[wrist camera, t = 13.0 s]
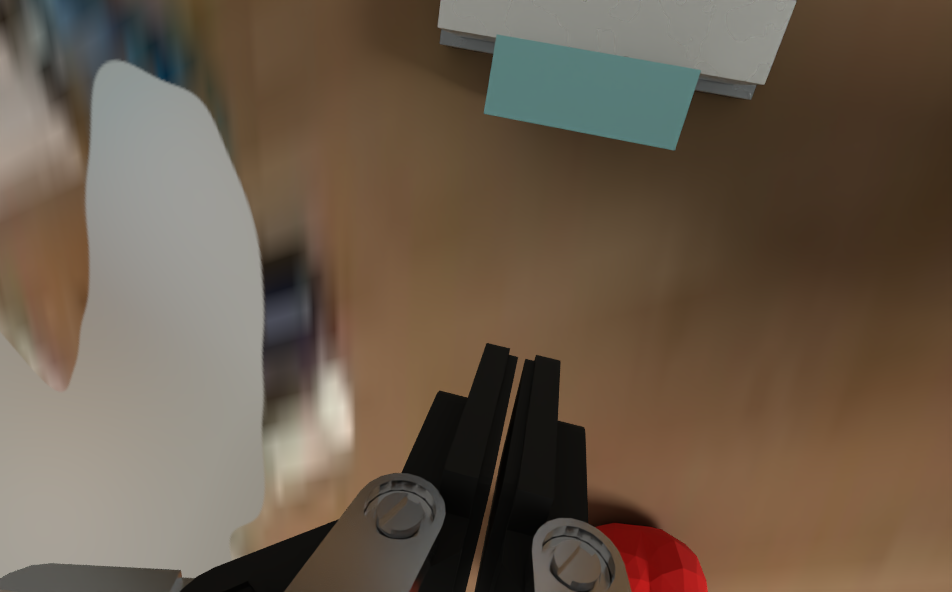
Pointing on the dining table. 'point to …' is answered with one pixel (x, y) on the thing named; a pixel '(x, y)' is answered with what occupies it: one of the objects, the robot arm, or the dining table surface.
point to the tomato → (655, 559)
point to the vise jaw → (617, 58)
